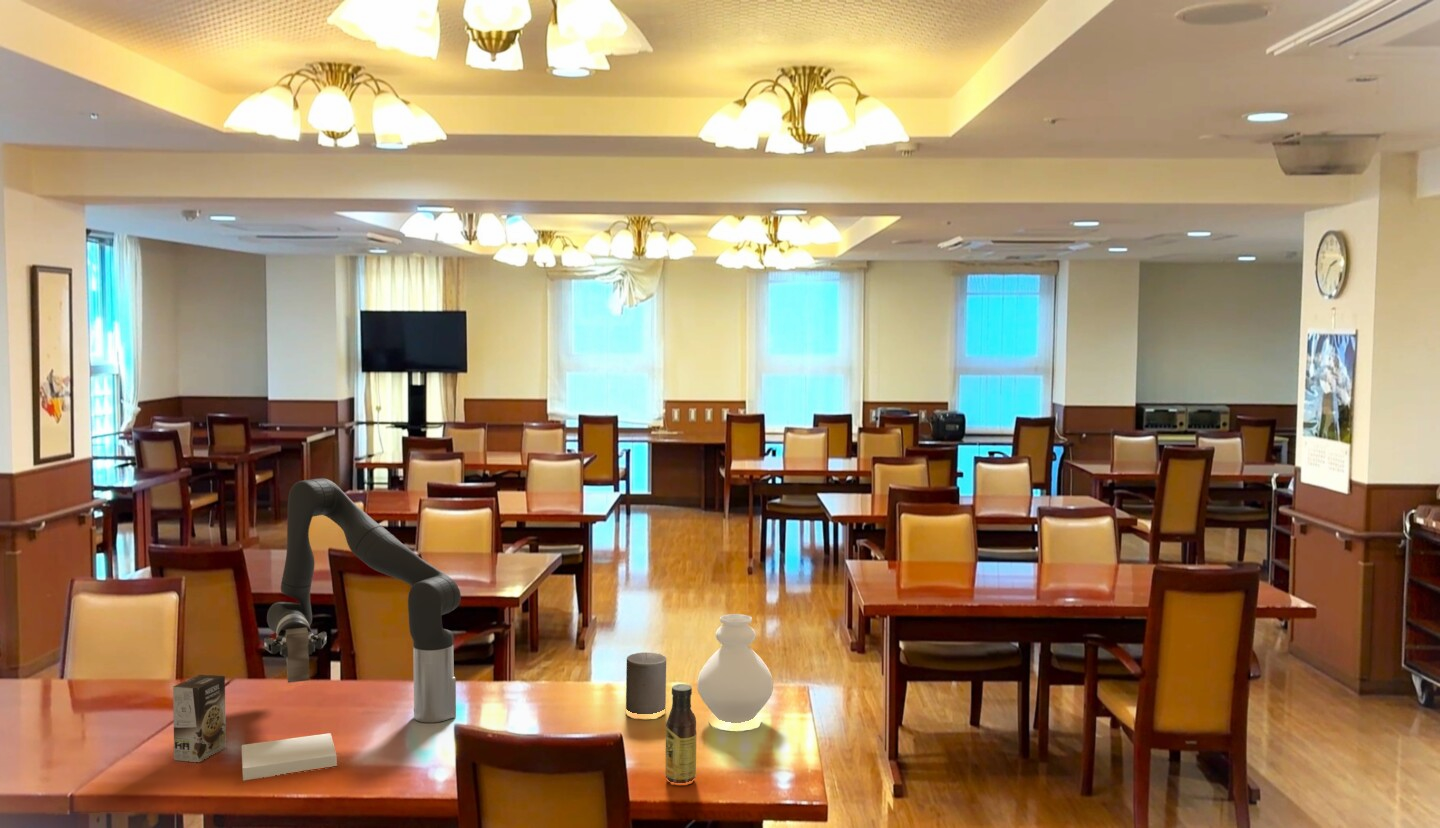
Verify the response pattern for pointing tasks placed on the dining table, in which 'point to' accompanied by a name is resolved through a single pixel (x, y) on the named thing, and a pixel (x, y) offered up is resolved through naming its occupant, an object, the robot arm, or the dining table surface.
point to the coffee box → (199, 718)
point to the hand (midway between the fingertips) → (298, 651)
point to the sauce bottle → (681, 737)
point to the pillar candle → (646, 683)
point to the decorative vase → (735, 673)
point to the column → (297, 655)
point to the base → (287, 756)
